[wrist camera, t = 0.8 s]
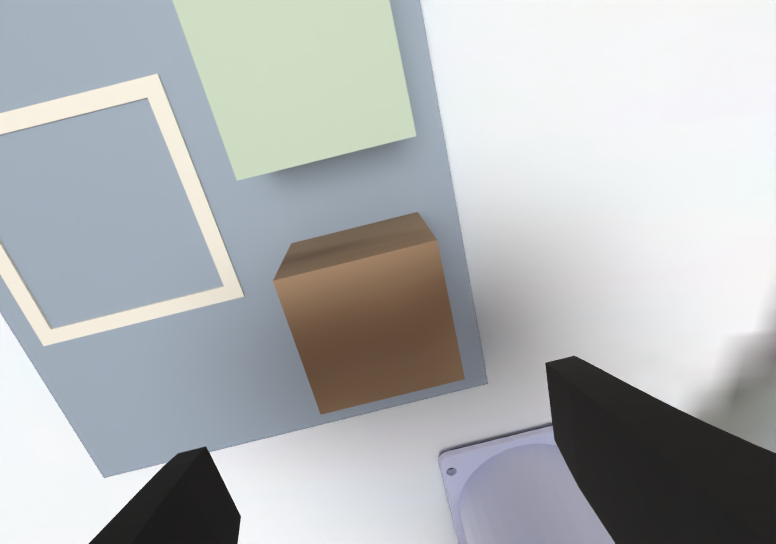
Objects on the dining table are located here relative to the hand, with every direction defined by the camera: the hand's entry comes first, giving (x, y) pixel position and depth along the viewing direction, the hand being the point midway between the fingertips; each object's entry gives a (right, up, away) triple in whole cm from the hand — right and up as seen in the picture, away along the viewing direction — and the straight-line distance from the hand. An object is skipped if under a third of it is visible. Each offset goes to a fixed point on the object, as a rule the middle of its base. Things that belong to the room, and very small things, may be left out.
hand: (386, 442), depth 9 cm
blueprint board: (-7, +6, +8) cm, 12 cm away
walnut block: (-1, +3, +8) cm, 9 cm away
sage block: (-2, +10, +6) cm, 12 cm away
